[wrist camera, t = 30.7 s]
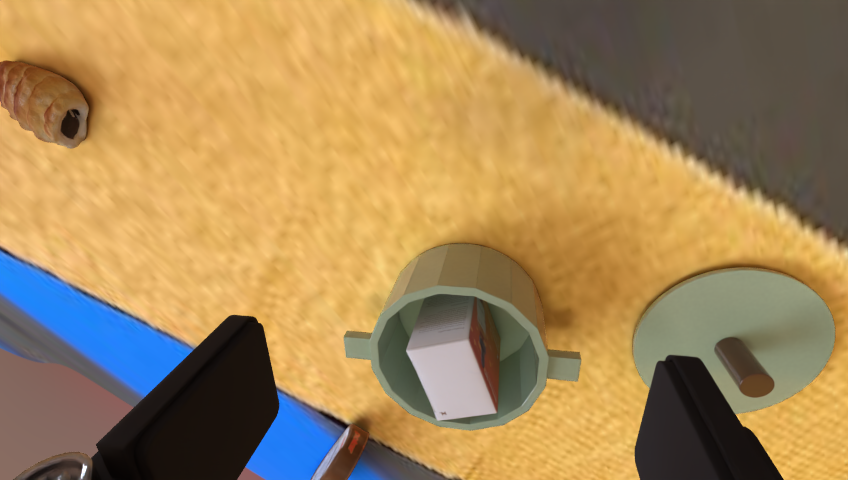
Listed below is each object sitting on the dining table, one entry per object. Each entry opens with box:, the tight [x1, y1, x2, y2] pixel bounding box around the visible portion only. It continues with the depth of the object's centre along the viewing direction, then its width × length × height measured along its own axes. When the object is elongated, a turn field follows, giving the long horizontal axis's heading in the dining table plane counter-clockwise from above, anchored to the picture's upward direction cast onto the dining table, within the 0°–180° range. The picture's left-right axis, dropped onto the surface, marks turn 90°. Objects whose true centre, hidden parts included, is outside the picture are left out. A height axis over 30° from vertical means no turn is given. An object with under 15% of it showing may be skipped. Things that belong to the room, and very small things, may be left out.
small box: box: [406, 294, 501, 421], centre depth 40 cm, size 8×6×10 cm
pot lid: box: [633, 267, 835, 414], centre depth 38 cm, size 17×17×6 cm
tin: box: [311, 424, 369, 480], centre depth 53 cm, size 15×3×8 cm, turn 150°
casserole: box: [344, 244, 581, 431], centre depth 41 cm, size 16×21×8 cm
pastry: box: [0, 61, 89, 148], centre depth 42 cm, size 9×7×4 cm
